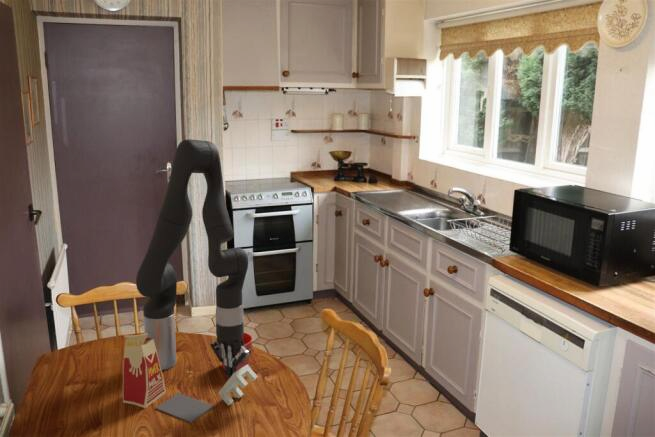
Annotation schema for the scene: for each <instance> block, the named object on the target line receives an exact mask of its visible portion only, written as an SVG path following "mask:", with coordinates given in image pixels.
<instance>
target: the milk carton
mask: <svg viewBox="0 0 655 437" xmlns="http://www.w3.org/2000/svg"><path fill="white" fill-rule="evenodd" d="M147 335H148V333H146V334H145V333H142V334H137V335H124V337H125V338H126V340H125V345H124V352H123V366H122V368H123V369H122V371H123V372H122V403H123V404H128V405H129V404H130V405H134V406H138V407H141V408H144V409H146V408H148V407H149V406H150V405H152V404H153V403H154V402H156V401H157V400H158V399H160V397H162V396H164V395H165V394H166V393H167V390H166V385H165V380H164V375H163V370H161V366H160V362H159V358H158V354H157V350H156V347H155V343H154V339H153V338H147Z"/></svg>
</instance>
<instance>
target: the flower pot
mask: <svg viewBox="0 0 655 437" xmlns="http://www.w3.org/2000/svg"><path fill="white" fill-rule="evenodd" d="M253 340H254V338H253V336H252V335H251V334H249V333H247V332H244V335H243V342H244V347H245V348H246V349H247V350H248V349H249V350H250V351H251V352H252V347H253ZM240 352H241V350H240ZM240 352H239V356H238V358H239V357H240ZM220 354H221V353H220ZM221 356H222V354H221ZM250 356H251V353H250V354H249V356H248V357H247V358H246V359H245V360H244V362H243V363H242V364H240V365H238V366H237V367H236V371H238V370H239V369H241V368H242V367H244V366H245V365H247V364H248V365H249V362H250ZM221 364H222V368H223V369H224V371H225V365H224V363H223V362H221Z"/></svg>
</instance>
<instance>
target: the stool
mask: <svg viewBox="0 0 655 437" xmlns="http://www.w3.org/2000/svg"><path fill="white" fill-rule="evenodd" d="M246 376H247V377H248V378H249V380H251V382H252V383H253V382H254V381H256V380H257V378H258V375H257V374H256V372H254V370H253V368H252V367H250V365H249V363H248V364H247V365H245V366H244V367H242V368H241V369H239V370H238V371H236V372H235V373H233V375H232V376H231V377H230V378H228V380H227V381H226V382H225V383H224V385H223V386H222V388H220V389H219V391H218V393H217V395H218V396H219V397H220V399H222V401H223V402H225V404H226V405H227V407H229V406H230V405H232V404H233V403H234V399H233V398H232V397H231V395H230V393H231V392H232V393H233V395H234V396H235V397H236V398H237V399H240V398H242V397H243V395H244V393H243V391H242V390H241V389H244V388H246V387H247V385H248V384H249V383H248V382H247V380H246V379H245V377H246ZM239 387H241V388H239Z"/></svg>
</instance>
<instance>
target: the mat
mask: <svg viewBox="0 0 655 437" xmlns="http://www.w3.org/2000/svg"><path fill="white" fill-rule="evenodd" d="M214 407H215V406H214V405H212V404H210V403H208V402H204V401H202V400H199V399H196V398H193V397H191V396H188V395H185V394H183V393H179V392H178V393H176V394H175V395H173V396H172V397H169V399H167V400H165V401H164V402H161V404H158V405H157V406H156V407H154V408H155V409H156V410H157V411H160V412H162V413H164V414H167V415H170V416H172V417H175V418H177V419H180V420H181V421H184V422H187V423H190V424H192V423H193V422H196V420H198V419H199V418H200V417H202V416H203V415H205V414H206V413H208V412H209V411H210V410H212V409H213V408H214Z"/></svg>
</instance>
